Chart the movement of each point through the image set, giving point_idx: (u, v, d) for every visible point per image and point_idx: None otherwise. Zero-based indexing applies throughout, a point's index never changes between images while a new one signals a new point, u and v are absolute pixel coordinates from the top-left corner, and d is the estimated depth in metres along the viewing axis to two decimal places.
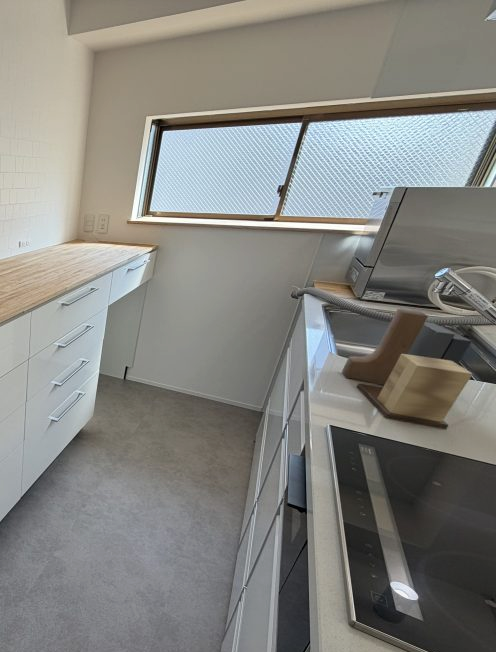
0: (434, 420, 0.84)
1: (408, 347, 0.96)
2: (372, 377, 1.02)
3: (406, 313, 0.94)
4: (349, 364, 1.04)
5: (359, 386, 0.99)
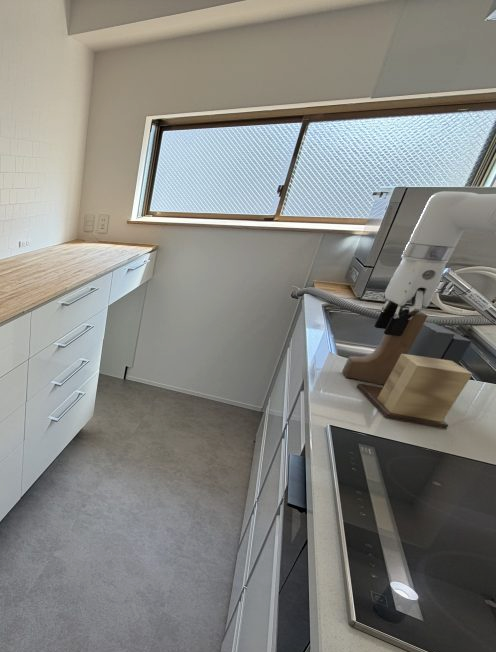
0: (434, 420, 0.84)
1: (408, 347, 0.96)
2: (372, 377, 1.02)
3: None
4: (349, 364, 1.04)
5: (359, 386, 0.99)
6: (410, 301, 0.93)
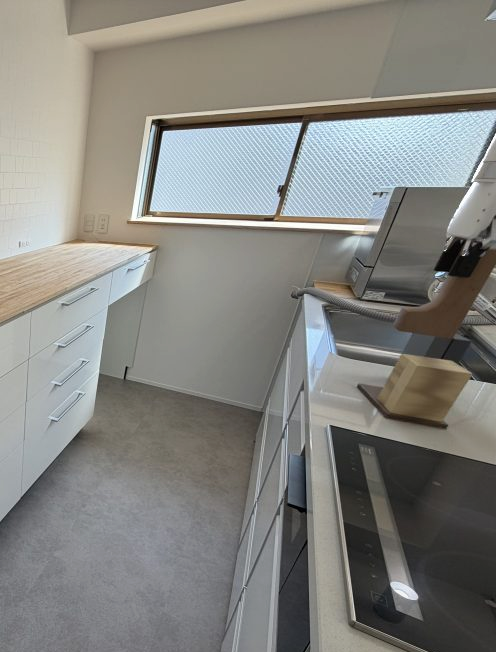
0: (434, 420, 0.84)
1: (477, 290, 0.82)
2: (431, 329, 0.87)
3: None
4: (403, 315, 0.89)
5: (359, 386, 0.99)
6: (483, 233, 0.78)
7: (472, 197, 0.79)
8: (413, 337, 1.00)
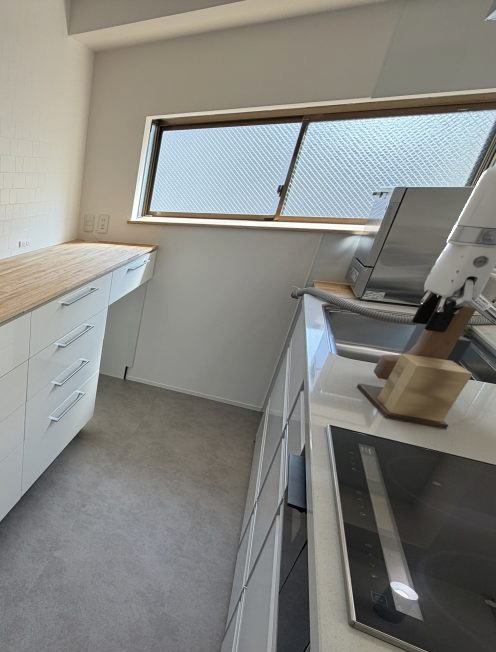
0: (434, 420, 0.84)
1: (452, 344, 0.85)
2: None
3: None
4: (382, 363, 0.93)
5: (359, 386, 0.99)
6: (457, 292, 0.81)
7: (447, 257, 0.83)
8: (413, 337, 1.00)
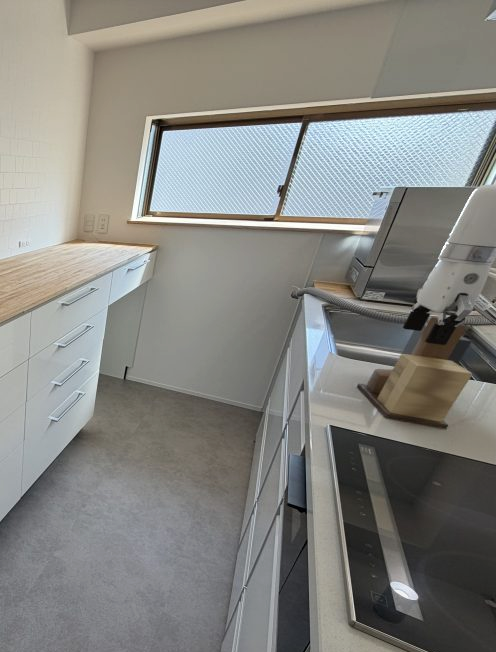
0: (434, 420, 0.84)
1: None
2: None
3: None
4: (376, 378, 0.94)
5: (359, 386, 0.99)
6: (448, 308, 0.83)
7: (438, 273, 0.84)
8: (413, 337, 1.00)
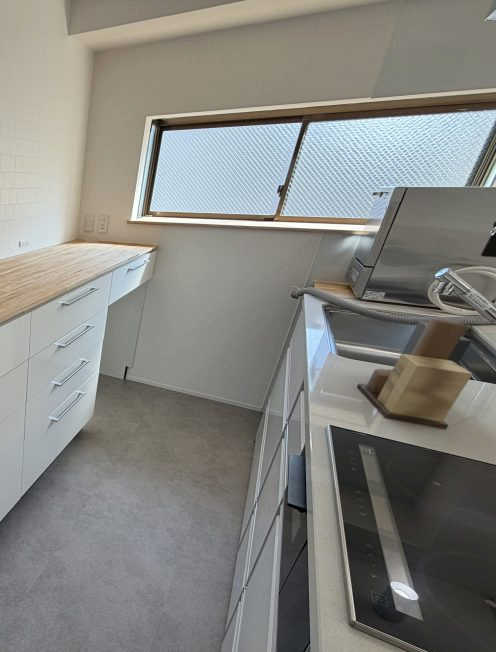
0: (434, 420, 0.84)
1: None
2: None
3: (442, 323, 0.85)
4: (376, 378, 0.94)
5: (359, 386, 0.99)
6: None
7: None
8: (413, 337, 1.00)
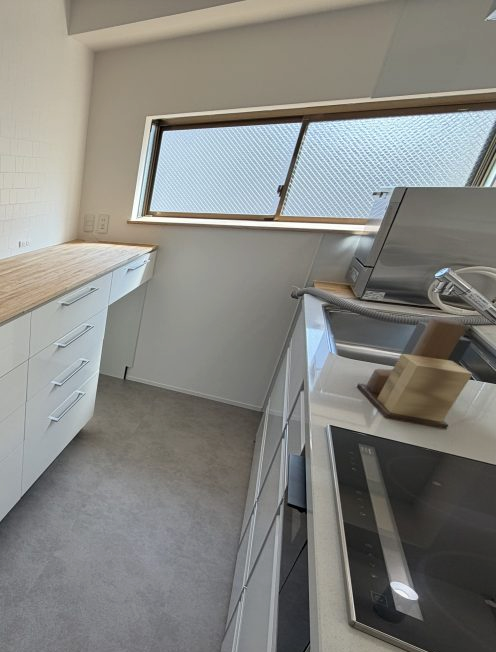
0: (434, 420, 0.84)
1: None
2: None
3: (442, 323, 0.85)
4: (376, 378, 0.94)
5: (359, 386, 0.99)
6: None
7: None
8: (413, 337, 1.00)
